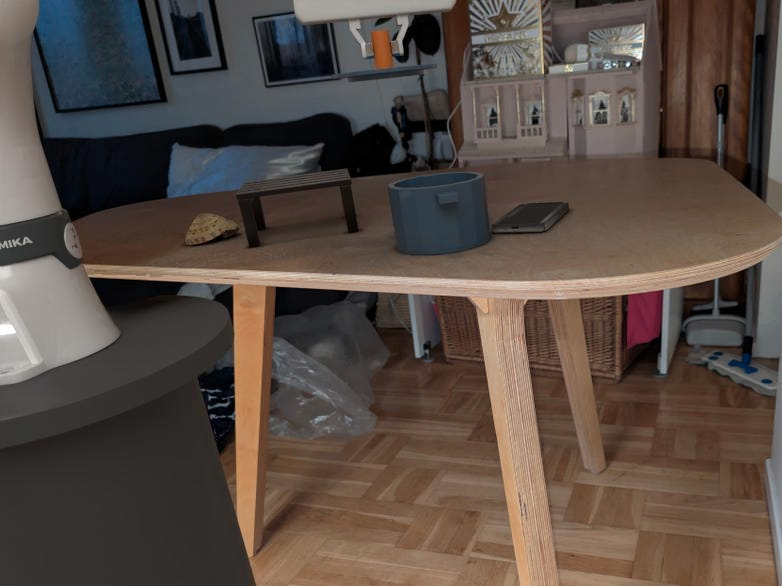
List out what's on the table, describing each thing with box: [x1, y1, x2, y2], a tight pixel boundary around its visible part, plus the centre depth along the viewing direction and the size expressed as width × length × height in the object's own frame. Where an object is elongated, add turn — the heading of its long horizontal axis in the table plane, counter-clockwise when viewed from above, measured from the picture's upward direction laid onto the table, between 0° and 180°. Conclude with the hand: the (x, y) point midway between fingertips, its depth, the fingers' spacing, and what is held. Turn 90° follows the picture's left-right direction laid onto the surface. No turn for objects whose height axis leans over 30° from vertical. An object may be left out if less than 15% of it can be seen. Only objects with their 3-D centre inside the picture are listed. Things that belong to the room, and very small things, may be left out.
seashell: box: [184, 212, 242, 246], centre depth 115 cm, size 8×6×8 cm
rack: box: [235, 168, 360, 249], centre depth 113 cm, size 17×16×8 cm
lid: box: [331, 29, 438, 83], centre depth 90 cm, size 14×14×6 cm
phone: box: [491, 201, 570, 234], centre depth 102 cm, size 8×1×15 cm
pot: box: [387, 171, 491, 256], centre depth 94 cm, size 13×18×8 cm
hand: (383, 57), depth 90 cm, fingers closed on lid, 2 cm apart
